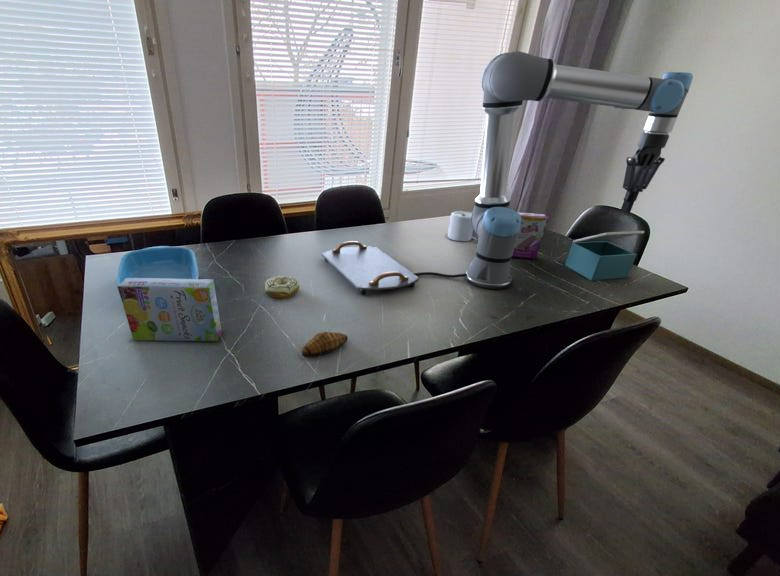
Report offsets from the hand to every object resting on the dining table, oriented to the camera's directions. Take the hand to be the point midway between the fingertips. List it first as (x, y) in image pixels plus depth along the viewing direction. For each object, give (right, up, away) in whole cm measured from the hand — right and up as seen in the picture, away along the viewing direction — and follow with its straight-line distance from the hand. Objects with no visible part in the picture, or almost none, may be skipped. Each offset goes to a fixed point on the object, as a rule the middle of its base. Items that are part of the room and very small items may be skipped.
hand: (625, 211), depth 142 cm
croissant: (-100, -48, -37) cm, 117 cm away
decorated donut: (-115, -30, -11) cm, 119 cm away
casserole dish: (-153, -28, -11) cm, 156 cm away
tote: (-2, -17, +15) cm, 23 cm away
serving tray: (-88, -20, +5) cm, 90 cm away
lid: (-1, -7, +8) cm, 11 cm away
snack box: (-138, -45, -34) cm, 149 cm away
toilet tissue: (-45, +3, +42) cm, 62 cm away
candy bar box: (-26, -9, +25) cm, 37 cm away
